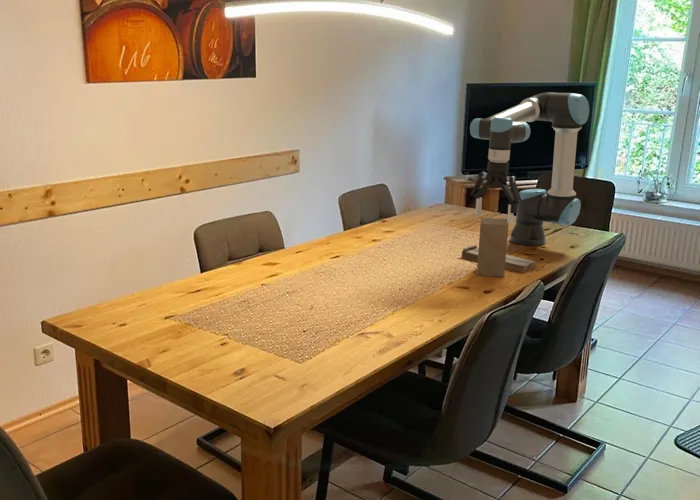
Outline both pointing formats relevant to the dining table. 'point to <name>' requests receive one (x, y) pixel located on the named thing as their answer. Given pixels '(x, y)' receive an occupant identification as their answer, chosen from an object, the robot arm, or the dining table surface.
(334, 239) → the dining table surface
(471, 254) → the curved panel
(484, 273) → the wooden block
